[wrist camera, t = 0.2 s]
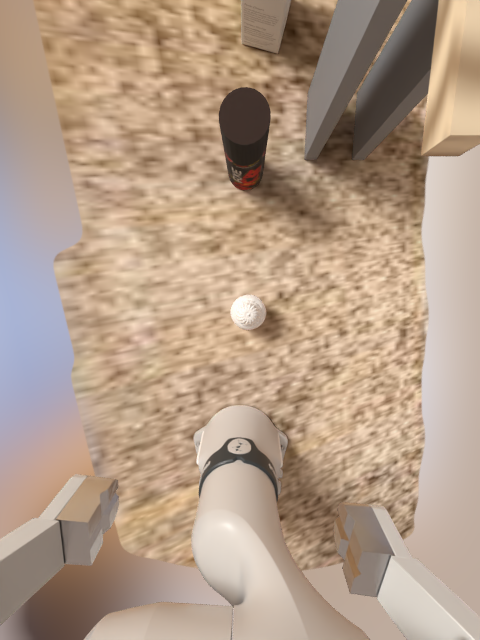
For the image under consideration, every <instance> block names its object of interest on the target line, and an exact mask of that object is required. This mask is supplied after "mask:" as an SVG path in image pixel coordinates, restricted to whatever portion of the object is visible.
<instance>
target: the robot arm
mask: <svg viewBox="0 0 480 640" xmlns="http://www.w3.org/2000/svg"><path fill="white" fill-rule="evenodd" d="M199 442H200V443H199ZM194 443H195V448H196V452H197V464H198V465H199V470H200V474H201V477H200V482H199V503H198V508H197V513H196V517H195V522H194V526H193V531H192V539H191V543H192V552H193V556H194V560H195V562H196V565H197V566H198V569H199V571H200V572H201V574H202V576H203V578H204V579H205V581H206V582H207V583H208V584H209V585H210V586H211V587H212V588H213V589H214V590H215V591H216V592H218V593H219V594H220V595H221V596H223V597H224V598H225V599H226V600H227V601H228V602H229V603H230V604H231V605H232V606H219V605H203V604H189V603H172V602H158V603H153V604H148V605H143V606H138V607H134V608H129V609H126V610H121V611H117V612H113V613H110V614H107V615H106V616H105V617H103V618H102V619H101V620H100V621H99V623H98V624H97V625H96V626H95V627H94V628H93V629H92V630H91V632H90V633H89V634H88V635H87V636H86V637H85V639H84V640H232V614H233V608H234V620H233V640H370V639H369V638H368V636H367V635H366V634H365V633H364V632H363V631H362V630H361V629H360V628H358V627H357V626H356V625H354V624H353V623H351V622H350V621H349V620H347V619H346V618H345V617H344V616H342V615H341V614H340V613H339V612H337V611H336V610H335V609H334V608H333V607H332V606H331V605H330V604H329V603H328V602H327V601H326V600H325V599H324V598H323V597H322V596H321V595H320V594H319V593H318V592H317V591H316V589H315V588H314V587H313V586H312V585H311V583H310V582H309V581H308V579H307V578H306V577H305V576H304V574H303V573H302V571H301V570H300V568H299V567H298V565H297V564H296V562H295V560H294V559H293V557H292V555H291V553H290V551H289V549H288V547H287V545H286V542H285V539H284V536H283V532H282V528H281V523H280V519H279V514H278V508H277V500H278V495H279V494H280V492H281V481H280V480H278V478H282V476H283V471H282V470H281V467H283V459H284V455H285V451H286V448H287V444H288V438H287V436H286V435H285V434H284V433H283V432H281V431H280V430H278V429H277V428H276V427H275V426H274V425H273V423H272V422H271V420H270V419H269V418H268V417H267V416H266V415H265V414H264V413H263V412H261V411H260V410H258V409H256V408H254V407H250V406H246V405H235V406H230V407H227V408H224V409H222V410H221V411H219V412H218V413H216V414H215V415H214V416H213V417H212V418H211V420H210V421H209V423H208V424H207V425H206V426H205V427H203V428H201V429H200V430H198V431H197V432H196V433H195V434H194ZM281 445H282V446H281ZM117 489H118V480H117V479H111V478H103V477H96V476H87V475H79V474H76V475H74V476H73V477H71V478H70V480H69V481H68V482H67V483H66V484H65V486H64V487H63V488H62V489H61V491H60V492H59V493H58V494H57V496H56V497H55V498H54V499H53V501H52V502H51V503H50V504H49V506H48V507H47V508H46V509H45V511H44V512H43V513H42V514H41V516H40V517H39V518H33V519H32V520H30V521H28V522H27V523H25V524H24V525H22V526H20V527H19V528H17V529H16V530H14V531H12V532H11V533H9V534H8V535H6V536H4V537H3V538H1V539H0V625H2V624H3V623H4V622H5V621H6V620H7V619H8V618H9V617H10V616H11V615H12V614H13V613H14V612H15V611H16V610H18V609H19V608H20V607H21V606H22V605H23V604H24V603H25V602H26V601H27V600H28V599H29V598H30V597H32V596H33V595H34V594H35V593H36V592H37V591H38V590H39V589H40V588H41V587H42V586H43V585H44V584H45V583H46V582H48V581H49V580H50V579H51V578H52V577H53V576H54V575H55V574H56V573H57V572H58V571H59V570H60V569H61V568H62V567H64V564H75V565H90V566H91V565H92V563H93V561H94V559H95V557H96V555H97V553H98V551H99V549H100V548H101V546H102V544H103V534H104V533H105V532H106V531H107V530H109V529H110V528H111V526H112V523H113V522H114V520H115V517H116V514H117V510H118V505H119V496H118V495H117V494H116V493H115V492H116V490H117ZM337 510H338V513H339V517H337V518H336V519H335V522H334V540H335V545H336V548H337V552H338V553H339V555H340V556H341V557H342V558H343V559H344V564H343V568H342V569H343V572H344V575H345V578H346V582H347V585H348V588H349V592H350V593H351V594H358V595H365V596H372V597H377V600H378V601H379V603H380V604H381V605H382V607H383V608H384V609H385V611H386V612H387V614H388V615H389V616H390V618H391V619H392V620H393V622H394V623H395V624H396V626H397V627H398V629H399V630H400V631H401V633H402V634H403V635H404V637H405V638H406V639H407V640H480V616H478V615H477V614H476V613H475V612H474V611H473V610H472V609H471V608H470V607H469V606H468V605H467V604H466V603H465V602H463V601H462V600H461V599H460V598H459V597H458V596H457V595H456V594H455V593H454V592H453V591H452V590H451V589H450V588H448V587H447V586H446V585H445V584H444V583H443V582H442V581H441V580H440V579H439V578H438V577H437V576H436V575H434V574H433V573H432V572H431V571H430V570H429V569H428V568H427V567H426V566H425V565H424V564H423V563H422V562H421V561H419V560H418V559H416V558H413V557H412V556H411V554H410V552H409V550H408V548H407V547H406V545H405V543H404V541H403V539H402V537H401V535H400V534H399V532H398V530H397V528H396V526H395V524H394V523H393V521H392V519H391V517H390V515H389V513H388V512H387V510H386V509H385V508H384V507H383V506H377V505H367V504H358V503H347V502H340V503H339V505H338V509H337Z"/></svg>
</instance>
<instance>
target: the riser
mask: <svg viewBox="0 0 480 640" xmlns="http://www.w3.org/2000/svg"><path fill="white" fill-rule="evenodd" d="M406 2H407V0H338V2H337V5H336V8H335V11H334V14H333V17H332V21H331V24H330V27H329V30H328V33H327V36H326V39H325V42H324V45H323V48H322V51H321V54H320V58H319V61H318V64H317V67H316V70H315V73H314V76H313V79H312V82H311V85H310V88H309V91H308V100H307V120H306V139H305V159H304V160H316V159H317V158H318V156H319V154H320V152H321V150H322V149H323V147H324V145H325V143H326V142H327V140H328V138H329V136H330V135H331V133H332V131H333V129H334V128H335V126H336V124H337V122H338V121H339V119H340V117H341V115H342V114H343V112H344V110H345V108H346V107H347V105H348V103H349V101H350V100H351V98H352V96H353V94H354V93H355V91H356V89H357V87H358V86H359V84H360V82H361V80H362V79H363V77H364V75H365V73H366V72H367V70H368V68H369V66H370V65H371V63H372V61H373V59H374V58H375V56H376V54H377V52H378V51H379V49H380V47H381V45H382V44H383V42H384V40H385V38H386V37H387V35H388V33H389V31H390V30H391V28H392V26H393V24H394V23H395V21H396V19H397V17H398V16H399V14H400V12H401V10H402V9H403V7H404V5H405V3H406ZM438 4H439V0H412V1H411V2H410V4H409V6H408V8H407V9H406V11H405V13H404V14H403V16H402V18H401V19H400V21H399V23H398V25H397V26H396V28H395V30H394V31H393V33H392V35H391V36H390V38H389V40H388V42H387V43H386V45H385V47H384V48H383V50H382V52H381V54H380V55H379V57H378V59H377V60H376V62H375V64H374V65H373V67H372V69H371V71H370V72H369V74H368V76H367V77H366V79H365V81H364V82H363V84H362V86H361V88H360V89H359V91H358V93H357V101H356V114H355V126H354V139H353V152H352V160H364V159H365V158H366V157H367V156H368V155H369V154H370V153H371V152H372V151H373V150H374V149H375V148H376V147H377V146H378V145H379V144H380V143H381V142H382V141H383V140H384V138H385V137H386V136H387V135H388V134H389V133H390V132H391V131H392V130H393V129H394V128H395V127H396V126H397V125H398V124H399V123H400V122H401V121H402V120H403V119H404V118H405V117H406V116H407V115H408V114H409V113H410V112H411V111H412V110H413V108H414V107H415V106H416V105H417V104H418V103H419V102H420V101H421V100H422V99H423V98H424V97H425V96H426V95H427V94H428V89H429V81H430V72H431V64H432V55H433V47H434V38H435V29H436V21H437V12H438Z"/></svg>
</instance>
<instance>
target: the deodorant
mask: <svg viewBox="0 0 480 640" xmlns="http://www.w3.org/2000/svg"><path fill="white" fill-rule="evenodd" d="M219 123H220V129H221V135H222V140H223V146H224V152H225V157H226V163H227V169H228V174H229V178H230V181H231V182H232V184H233V185H234V186H235V187H237V188H238V189H241V190H250V189H253V188H254V187H256V186H257V185H258V184H259V182H260V180H261V178H262V174H263V168H264V161H265V154H266V147H267V140H268V133H269V126H270V108H269V104H268V102H267V100H266V98H265V97H264V96H263V95H262V94H261V93H260V92H258V91H257V90H255V89H252V88H248V87H245V88H238V89H235V90H234V91H232V92H231V93H229V94H228V95H227V96H226V98H225V99H224V100H223V102H222V104H221V107H220V111H219Z"/></svg>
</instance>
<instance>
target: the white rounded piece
mask: <svg viewBox="0 0 480 640" xmlns="http://www.w3.org/2000/svg"><path fill="white" fill-rule="evenodd" d="M231 317H232V320H233V321H234V323H235V324H236V325H237V326H238V327H239V328H241V329H244V330H252V329H255V328H257V327H259V326H260V325H261V324H262V323H263V322H264V320H265V317H266V308H265V305H264V303H263V302H262V301H261V300H260V299H259V298H258V297H256V296H254V295H244V296H241V297H239V298H238V299H236V300H235V302H234V303H233V305H232V308H231Z"/></svg>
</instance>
